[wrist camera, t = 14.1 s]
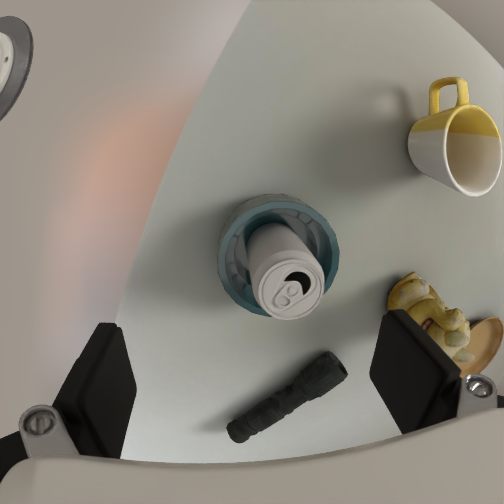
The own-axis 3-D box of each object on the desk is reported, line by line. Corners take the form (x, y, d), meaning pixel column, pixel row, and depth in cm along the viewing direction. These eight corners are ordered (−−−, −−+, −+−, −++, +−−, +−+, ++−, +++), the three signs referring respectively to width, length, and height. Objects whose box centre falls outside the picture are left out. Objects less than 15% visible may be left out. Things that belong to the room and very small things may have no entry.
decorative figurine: (434, 300, 43) (491, 351, 29) (397, 335, 45) (445, 396, 30) (409, 260, 40) (474, 308, 26) (367, 299, 42) (419, 363, 28)
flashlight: (342, 361, 45) (353, 382, 40) (244, 428, 48) (246, 450, 44) (325, 344, 44) (334, 365, 39) (224, 415, 47) (224, 438, 42)
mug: (445, 190, 38) (495, 206, 28) (388, 174, 36) (436, 185, 27) (458, 101, 34) (508, 97, 24) (401, 75, 32) (449, 60, 22)
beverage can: (309, 242, 37) (343, 282, 26) (276, 282, 39) (295, 336, 27) (268, 209, 36) (288, 239, 25) (234, 253, 37) (238, 299, 26)
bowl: (221, 295, 40) (220, 319, 34) (217, 193, 36) (215, 202, 30) (319, 290, 41) (333, 312, 35) (325, 192, 37) (343, 201, 31)
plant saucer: (457, 315, 45) (465, 322, 42) (505, 307, 46) (513, 312, 44) (433, 381, 49) (439, 389, 47) (482, 367, 51) (488, 373, 48)
